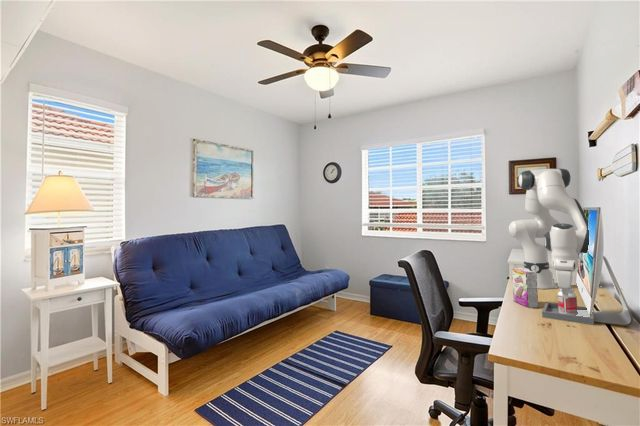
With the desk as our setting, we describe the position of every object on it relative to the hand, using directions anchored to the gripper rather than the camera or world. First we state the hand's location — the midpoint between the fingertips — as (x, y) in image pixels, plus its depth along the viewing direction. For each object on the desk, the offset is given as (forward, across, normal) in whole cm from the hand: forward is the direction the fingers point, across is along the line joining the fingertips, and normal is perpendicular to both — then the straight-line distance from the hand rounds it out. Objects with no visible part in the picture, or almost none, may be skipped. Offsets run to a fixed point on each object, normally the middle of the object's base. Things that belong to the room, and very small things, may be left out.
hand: (566, 295), depth 127 cm
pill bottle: (+8, 0, 0) cm, 8 cm away
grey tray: (+8, 0, 0) cm, 8 cm away
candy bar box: (+9, -8, -16) cm, 20 cm away
